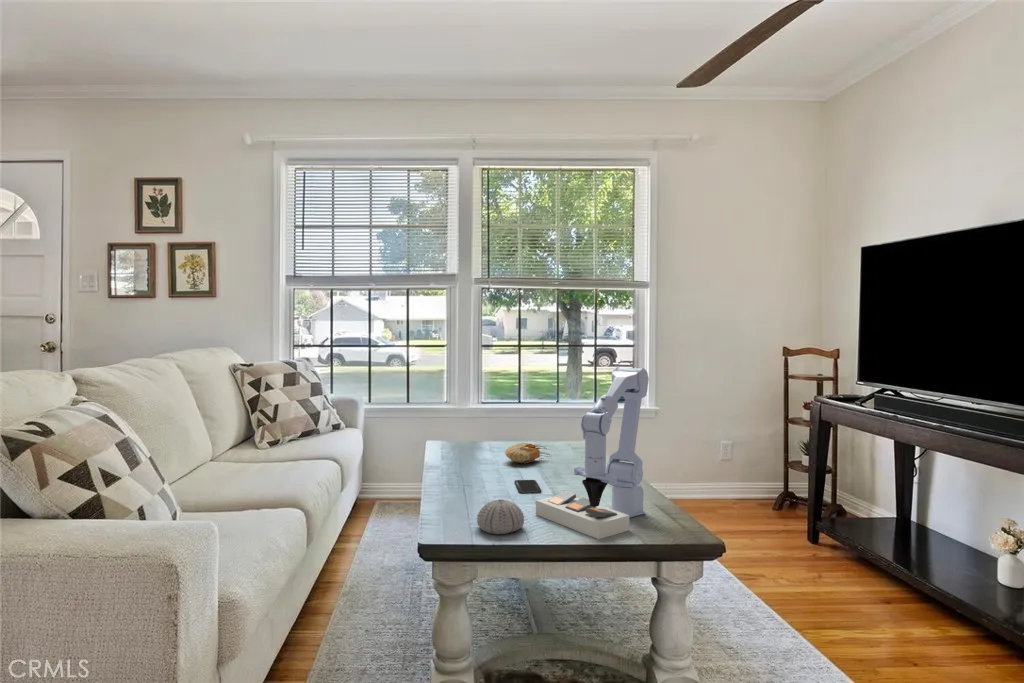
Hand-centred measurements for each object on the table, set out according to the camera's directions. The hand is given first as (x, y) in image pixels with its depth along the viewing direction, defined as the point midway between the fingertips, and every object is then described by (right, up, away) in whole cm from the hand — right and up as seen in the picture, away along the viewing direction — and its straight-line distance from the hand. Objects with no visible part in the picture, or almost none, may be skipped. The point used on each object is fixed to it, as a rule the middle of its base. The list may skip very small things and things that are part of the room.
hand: (594, 505), depth 161 cm
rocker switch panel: (-3, -7, +8) cm, 11 cm away
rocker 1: (-8, -2, +14) cm, 16 cm away
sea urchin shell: (-26, -7, +2) cm, 27 cm away
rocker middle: (-3, -3, +8) cm, 9 cm away
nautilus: (-15, -6, +85) cm, 86 cm away
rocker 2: (+2, -3, +2) cm, 4 cm away
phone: (-17, -7, +45) cm, 49 cm away
